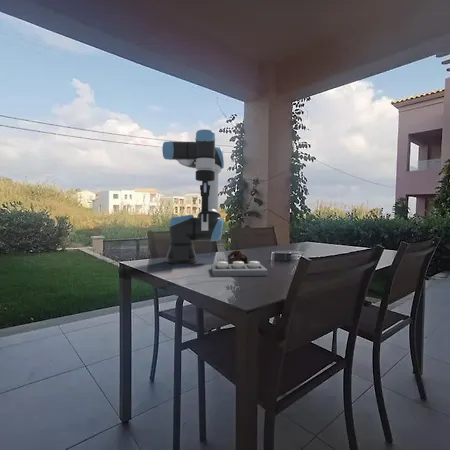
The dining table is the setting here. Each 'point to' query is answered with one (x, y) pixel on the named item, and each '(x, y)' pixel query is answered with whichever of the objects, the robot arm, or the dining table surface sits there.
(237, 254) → the brown looped knot
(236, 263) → the button mid
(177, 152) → the robot arm
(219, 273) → the board
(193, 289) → the dining table surface
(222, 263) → the button
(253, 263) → the button
